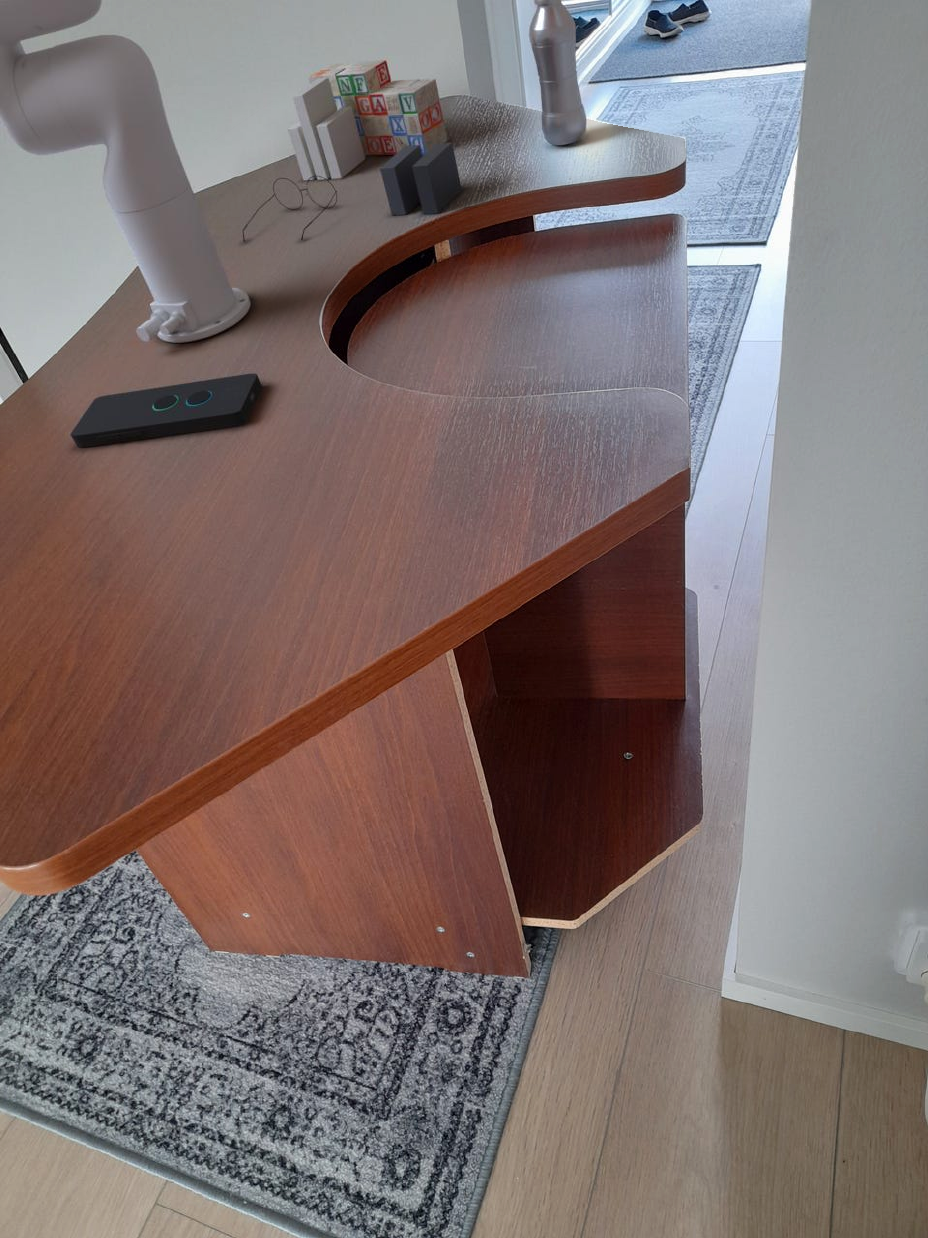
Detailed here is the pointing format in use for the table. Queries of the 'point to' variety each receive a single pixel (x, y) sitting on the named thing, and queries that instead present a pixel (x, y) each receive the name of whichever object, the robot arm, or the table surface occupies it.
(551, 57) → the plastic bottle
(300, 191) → the eyeglasses
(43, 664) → the table surface
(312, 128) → the white book
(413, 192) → the grey books
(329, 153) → the white books
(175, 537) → the table surface
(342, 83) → the stack of blocks
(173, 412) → the smart home device
